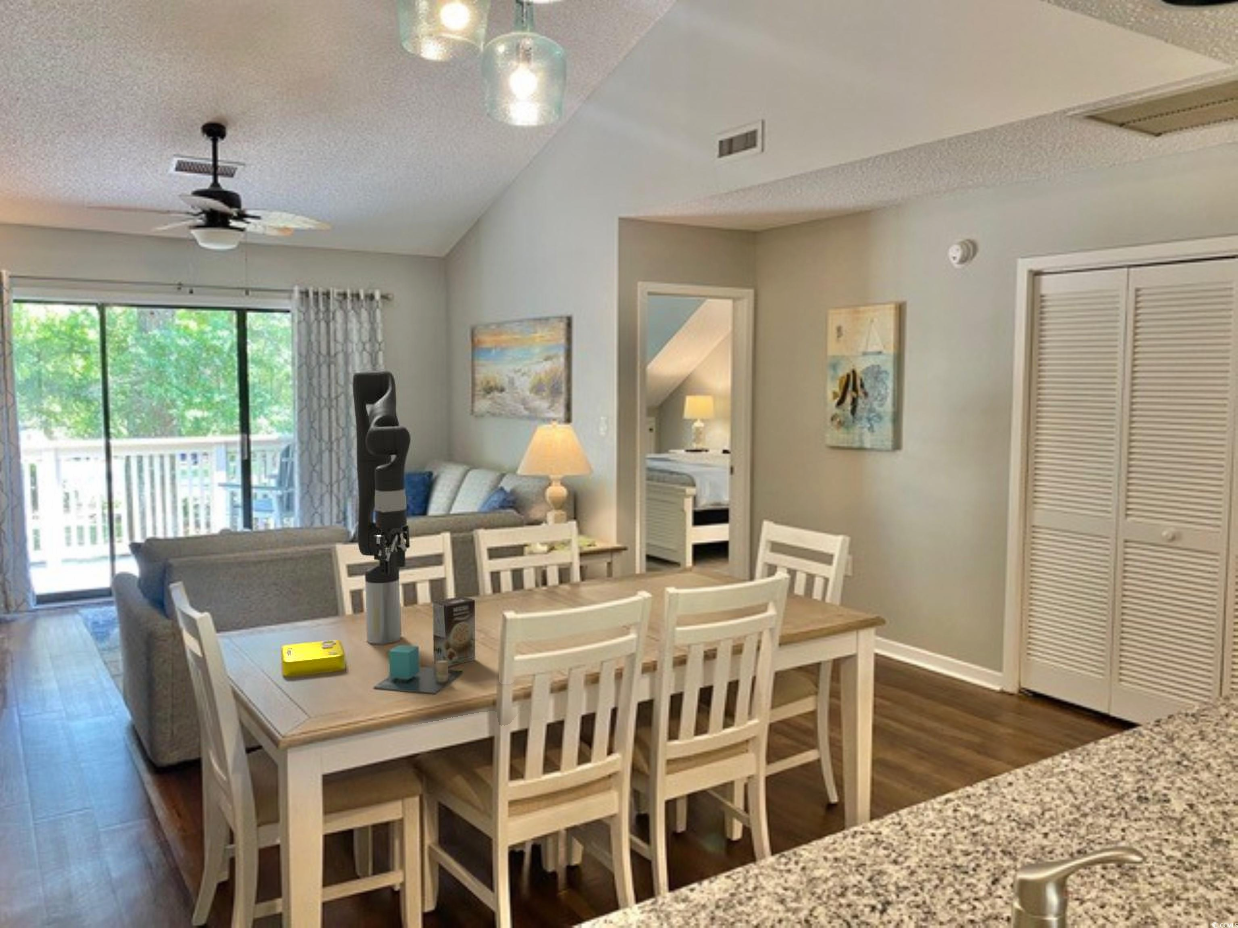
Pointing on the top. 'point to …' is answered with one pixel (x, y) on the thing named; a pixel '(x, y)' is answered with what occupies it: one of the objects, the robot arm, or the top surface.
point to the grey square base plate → (418, 682)
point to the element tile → (312, 658)
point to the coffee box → (454, 630)
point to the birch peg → (441, 671)
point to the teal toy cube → (404, 661)
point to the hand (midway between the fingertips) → (393, 571)
